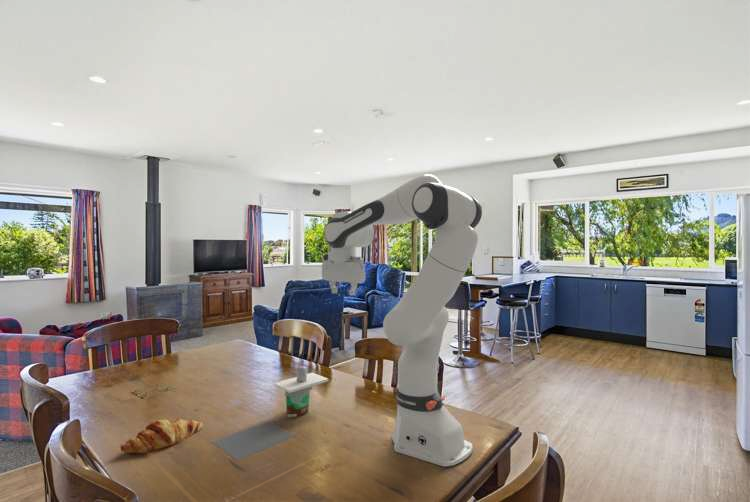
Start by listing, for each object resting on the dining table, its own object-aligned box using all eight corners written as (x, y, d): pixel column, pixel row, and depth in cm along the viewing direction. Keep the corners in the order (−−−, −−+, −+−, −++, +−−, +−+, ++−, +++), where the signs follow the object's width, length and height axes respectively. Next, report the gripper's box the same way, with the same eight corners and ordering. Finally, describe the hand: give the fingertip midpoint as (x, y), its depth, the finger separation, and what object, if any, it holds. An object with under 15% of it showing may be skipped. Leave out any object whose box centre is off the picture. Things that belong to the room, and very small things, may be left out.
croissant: (198, 438, 121) (193, 412, 124) (211, 432, 115) (206, 404, 118) (117, 465, 106) (113, 434, 108) (128, 460, 100) (124, 427, 102)
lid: (328, 381, 133) (328, 365, 133) (289, 392, 122) (289, 376, 122) (312, 374, 139) (312, 359, 139) (273, 385, 128) (273, 369, 128)
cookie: (145, 401, 142) (145, 398, 142) (130, 393, 150) (130, 391, 150) (178, 391, 152) (178, 388, 152) (163, 384, 159) (162, 382, 159)
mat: (295, 437, 114) (295, 435, 114) (236, 462, 101) (236, 460, 101) (268, 422, 124) (268, 420, 124) (211, 443, 111) (211, 441, 111)
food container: (303, 422, 124) (303, 390, 124) (285, 421, 125) (285, 389, 125) (317, 407, 136) (317, 377, 136) (300, 405, 137) (300, 376, 137)
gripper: (369, 256, 141) (369, 295, 141) (331, 255, 155) (331, 291, 155) (356, 257, 136) (356, 297, 136) (318, 255, 150) (318, 292, 151)
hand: (343, 294), depth 146 cm, fingers open, 8 cm apart
